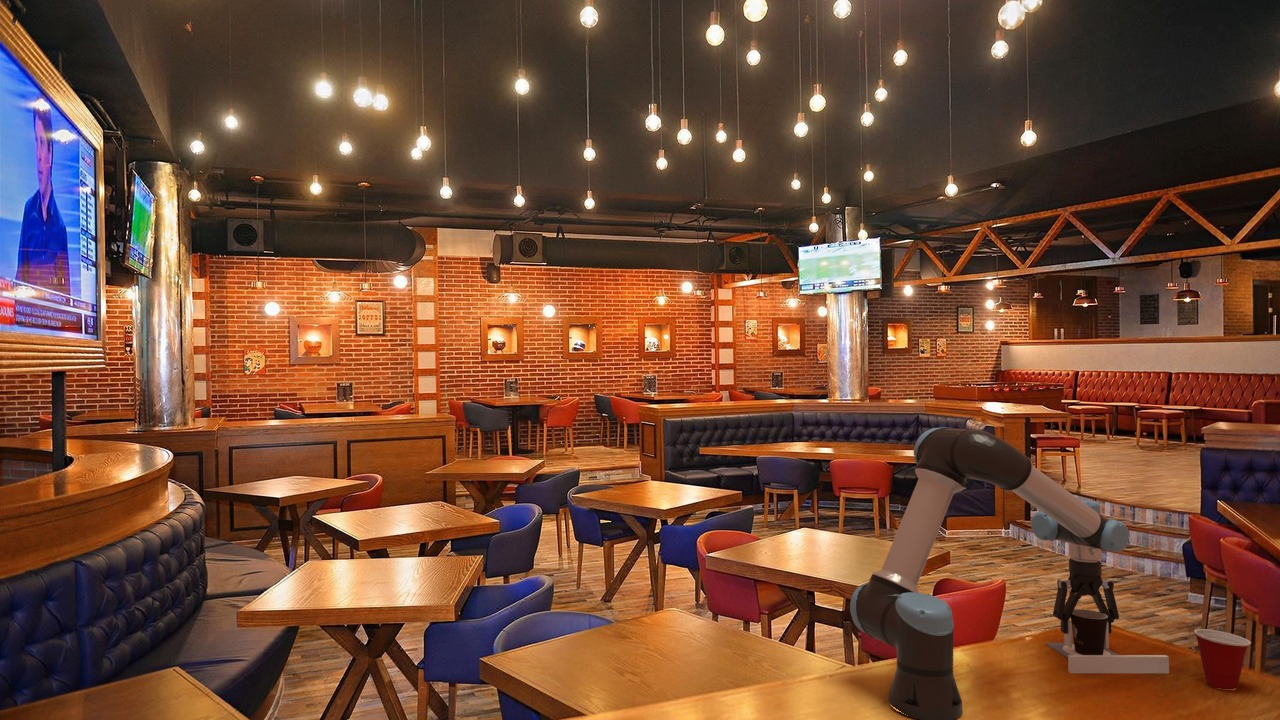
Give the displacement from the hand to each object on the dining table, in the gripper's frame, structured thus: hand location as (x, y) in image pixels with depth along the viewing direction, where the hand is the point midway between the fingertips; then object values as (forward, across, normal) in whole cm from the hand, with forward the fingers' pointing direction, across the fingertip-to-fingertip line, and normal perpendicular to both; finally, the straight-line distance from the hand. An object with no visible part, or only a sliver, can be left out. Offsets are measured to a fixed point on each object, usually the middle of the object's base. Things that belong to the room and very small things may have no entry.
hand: (1086, 645), depth 209 cm
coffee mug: (+2, +1, 0) cm, 2 cm away
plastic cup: (+2, +19, -23) cm, 30 cm away
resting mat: (+2, 0, 0) cm, 2 cm away
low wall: (+2, 0, -14) cm, 14 cm away
